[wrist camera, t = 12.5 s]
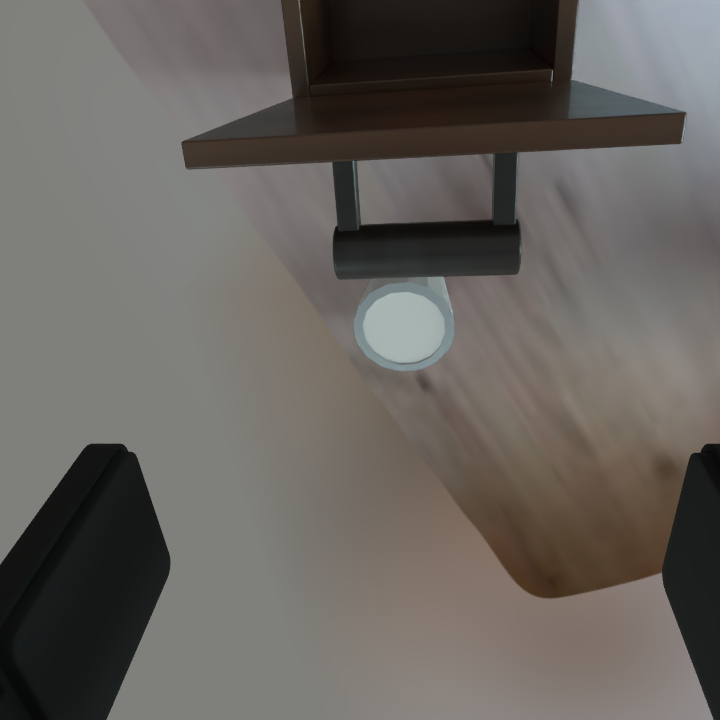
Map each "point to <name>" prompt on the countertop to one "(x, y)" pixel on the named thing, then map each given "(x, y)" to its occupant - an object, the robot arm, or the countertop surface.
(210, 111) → the countertop surface
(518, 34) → the chest
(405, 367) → the shot glass
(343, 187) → the lid
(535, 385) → the countertop surface
